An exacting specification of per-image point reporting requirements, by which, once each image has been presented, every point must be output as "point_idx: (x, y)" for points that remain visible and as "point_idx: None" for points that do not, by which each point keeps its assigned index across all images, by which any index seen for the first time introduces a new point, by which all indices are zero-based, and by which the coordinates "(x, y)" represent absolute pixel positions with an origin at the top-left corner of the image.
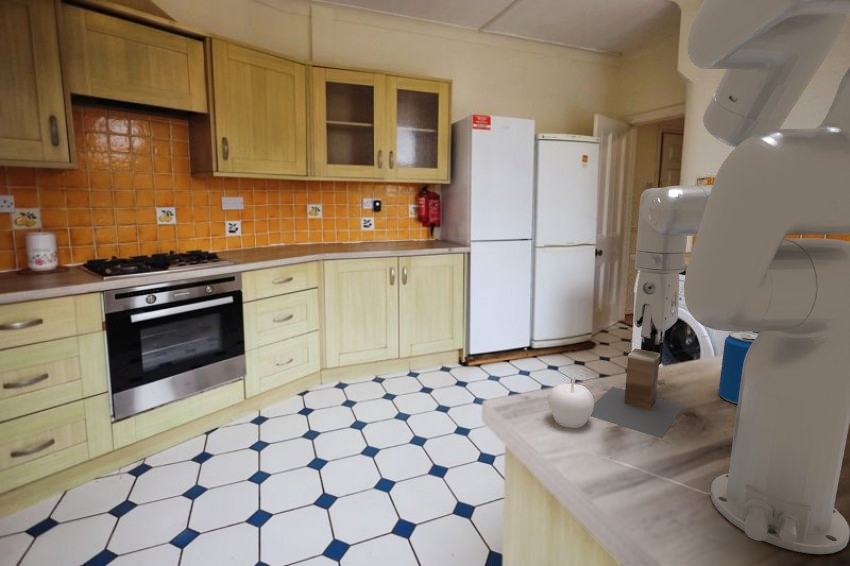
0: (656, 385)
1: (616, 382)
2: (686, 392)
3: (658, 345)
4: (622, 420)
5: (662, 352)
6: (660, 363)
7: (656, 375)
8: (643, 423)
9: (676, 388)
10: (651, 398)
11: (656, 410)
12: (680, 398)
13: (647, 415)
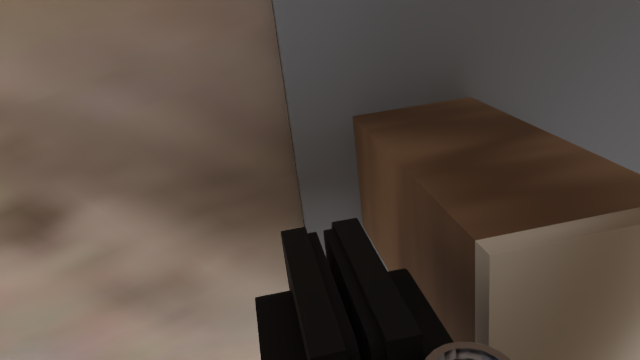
0: (399, 143)
1: (230, 350)
2: (31, 58)
3: (421, 347)
4: (633, 132)
5: (296, 283)
6: (304, 228)
7: (457, 165)
8: (613, 56)
9: (24, 124)
10: (466, 115)
11: (445, 71)
12: (158, 50)
13: (524, 79)
